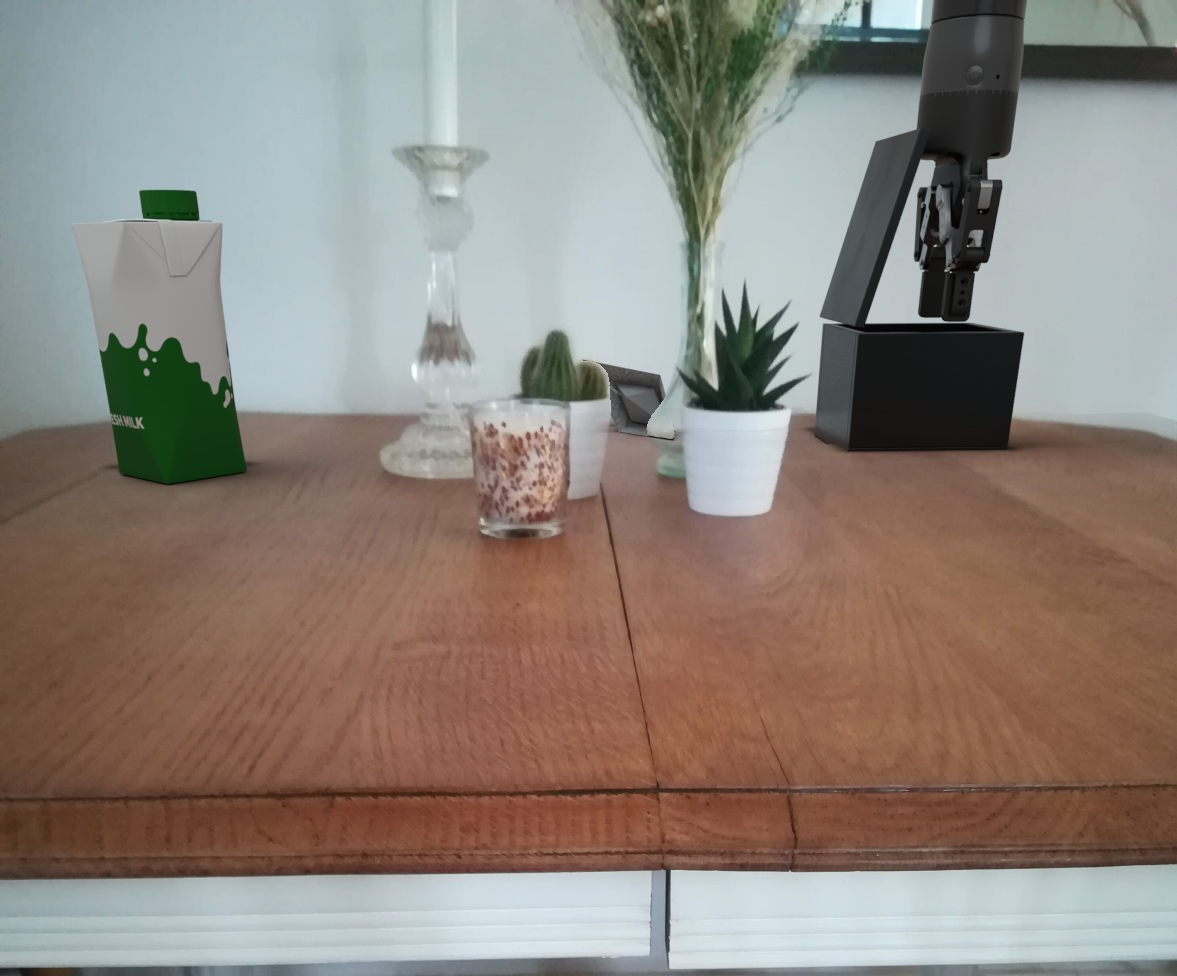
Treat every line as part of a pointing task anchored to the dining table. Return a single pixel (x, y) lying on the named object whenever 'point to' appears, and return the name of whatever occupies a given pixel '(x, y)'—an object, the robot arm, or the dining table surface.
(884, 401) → the black box
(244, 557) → the dining table surface
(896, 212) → the box lid
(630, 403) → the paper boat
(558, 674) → the dining table surface
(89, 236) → the milk carton
